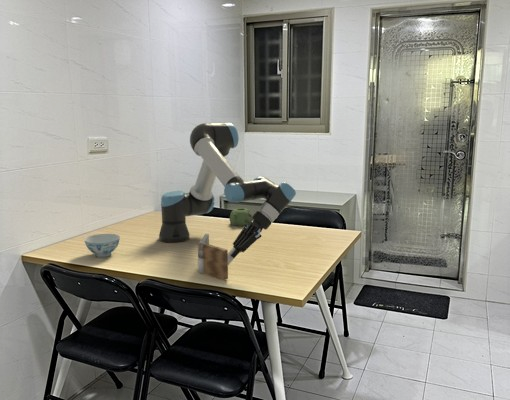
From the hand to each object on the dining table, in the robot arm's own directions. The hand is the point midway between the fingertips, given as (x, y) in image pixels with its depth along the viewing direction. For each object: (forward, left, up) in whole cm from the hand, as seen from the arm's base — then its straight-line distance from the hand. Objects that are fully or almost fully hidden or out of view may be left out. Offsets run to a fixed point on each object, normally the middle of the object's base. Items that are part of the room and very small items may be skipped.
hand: (225, 262), depth 180 cm
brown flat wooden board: (-5, -1, -5) cm, 8 cm away
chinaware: (-63, -1, -6) cm, 64 cm away
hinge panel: (-14, +6, -6) cm, 16 cm away
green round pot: (-36, +75, -6) cm, 84 cm away
